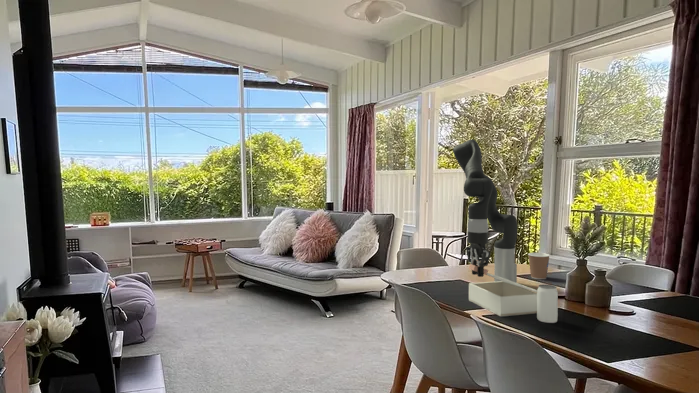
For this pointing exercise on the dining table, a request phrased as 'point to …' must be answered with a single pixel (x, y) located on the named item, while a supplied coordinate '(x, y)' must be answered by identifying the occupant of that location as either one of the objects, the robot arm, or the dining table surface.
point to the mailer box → (503, 298)
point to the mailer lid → (475, 268)
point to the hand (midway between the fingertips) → (477, 275)
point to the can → (547, 303)
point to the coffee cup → (538, 265)
